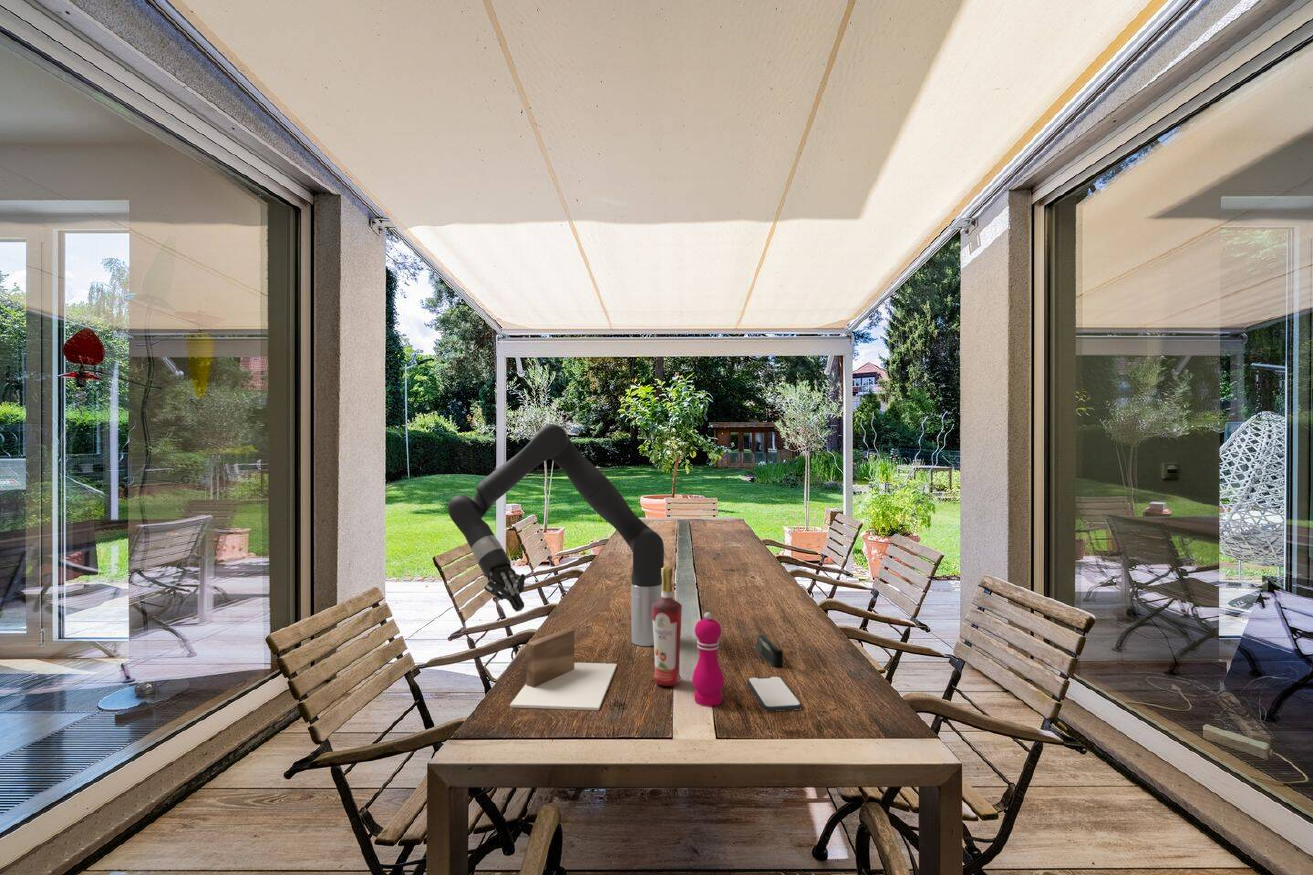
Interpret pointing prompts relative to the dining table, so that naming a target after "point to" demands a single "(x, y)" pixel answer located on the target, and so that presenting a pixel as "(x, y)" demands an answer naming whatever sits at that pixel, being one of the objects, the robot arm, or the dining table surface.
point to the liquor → (666, 633)
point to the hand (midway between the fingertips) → (520, 609)
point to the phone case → (773, 693)
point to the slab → (549, 657)
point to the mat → (570, 689)
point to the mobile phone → (769, 651)
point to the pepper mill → (708, 663)
